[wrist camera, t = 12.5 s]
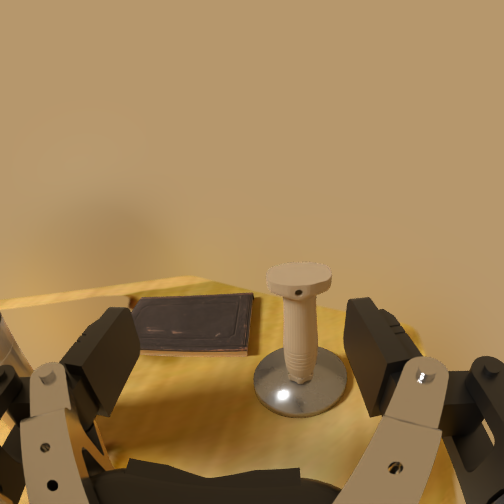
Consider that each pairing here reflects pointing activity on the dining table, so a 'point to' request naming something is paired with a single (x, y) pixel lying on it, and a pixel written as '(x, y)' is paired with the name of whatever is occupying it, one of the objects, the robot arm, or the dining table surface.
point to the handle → (299, 312)
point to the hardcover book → (194, 325)
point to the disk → (300, 385)
